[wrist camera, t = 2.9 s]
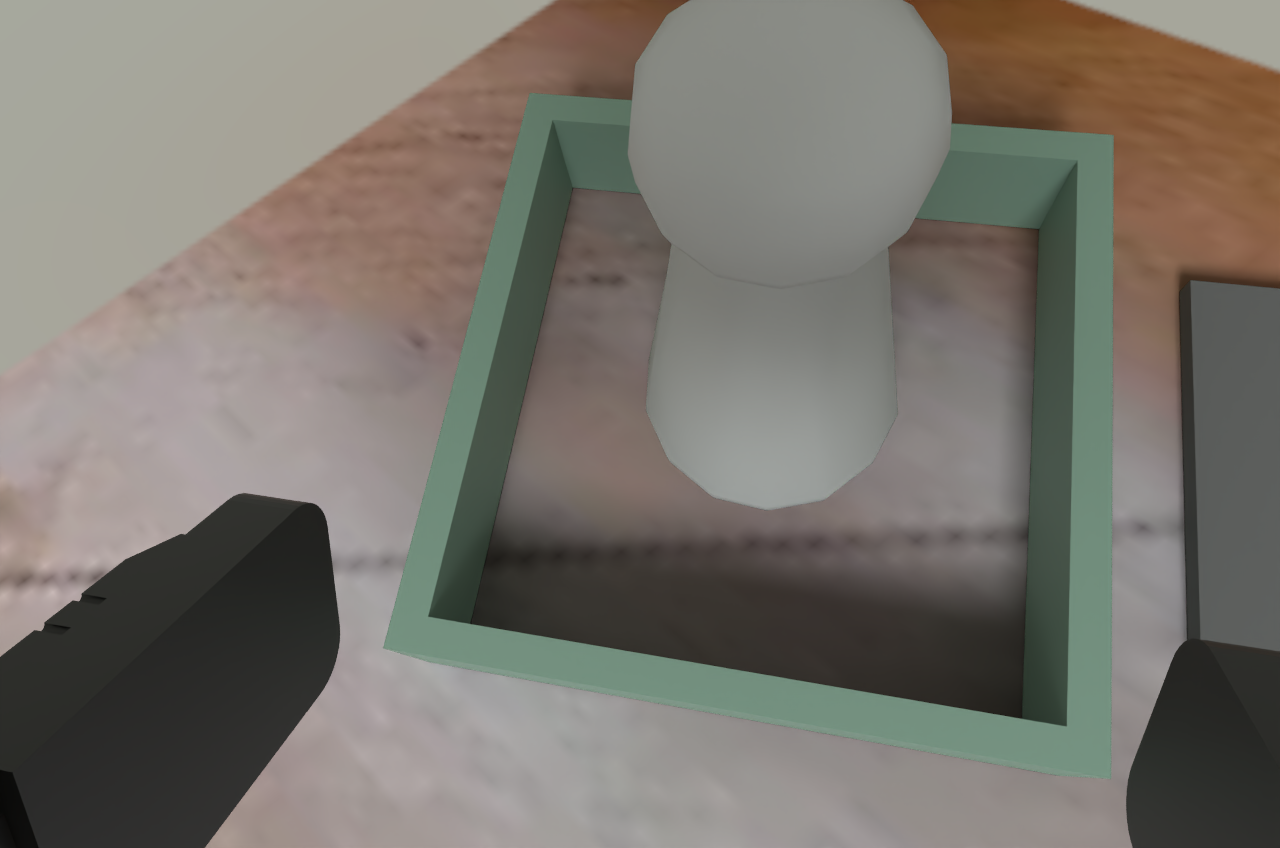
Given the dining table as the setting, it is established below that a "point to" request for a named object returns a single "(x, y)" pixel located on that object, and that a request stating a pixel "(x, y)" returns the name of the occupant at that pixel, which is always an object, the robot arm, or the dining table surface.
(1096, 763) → the square frame
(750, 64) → the salt shaker
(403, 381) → the dining table surface
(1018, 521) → the dining table surface
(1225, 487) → the rubber mat
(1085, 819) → the dining table surface
